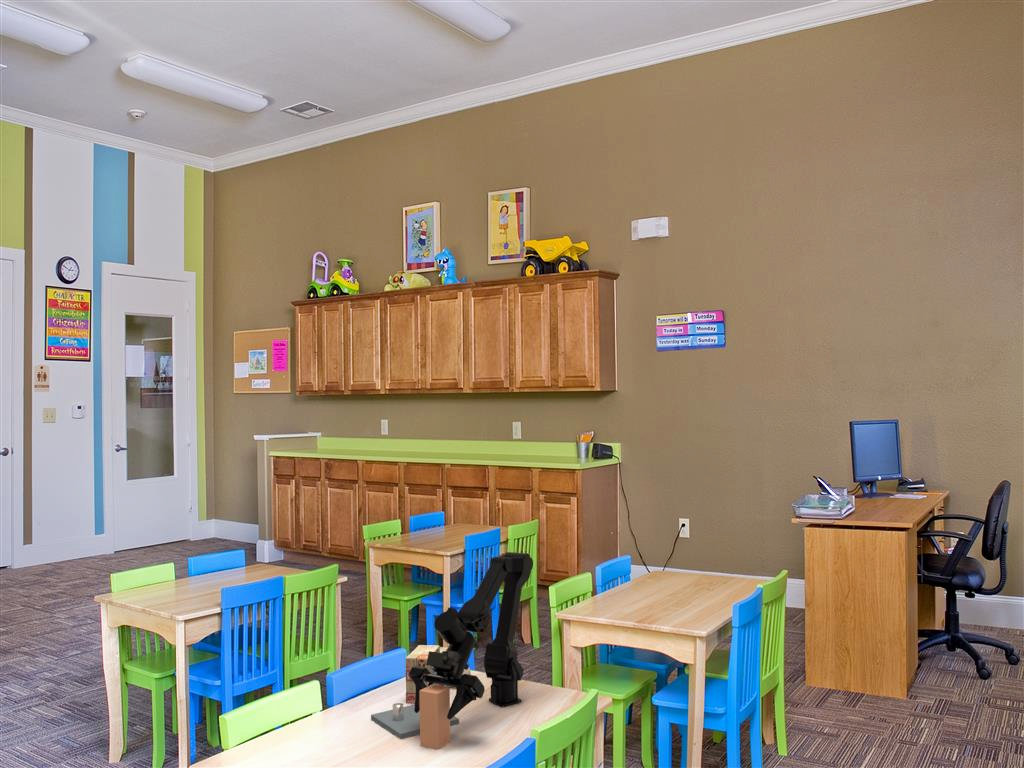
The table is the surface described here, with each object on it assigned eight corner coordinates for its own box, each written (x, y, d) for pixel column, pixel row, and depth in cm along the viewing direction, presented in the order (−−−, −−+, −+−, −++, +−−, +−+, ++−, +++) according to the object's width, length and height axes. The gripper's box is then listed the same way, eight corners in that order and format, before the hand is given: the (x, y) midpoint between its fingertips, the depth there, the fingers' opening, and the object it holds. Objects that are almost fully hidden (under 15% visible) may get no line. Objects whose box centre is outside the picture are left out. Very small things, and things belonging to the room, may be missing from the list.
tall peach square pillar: (432, 738, 195) (431, 684, 196) (450, 742, 193) (449, 687, 193) (420, 745, 191) (419, 690, 191) (438, 749, 188) (437, 693, 189)
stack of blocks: (428, 678, 241) (428, 635, 241) (449, 679, 239) (448, 636, 240) (405, 704, 219) (405, 657, 220) (428, 705, 218) (427, 657, 219)
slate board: (426, 705, 217) (426, 701, 217) (458, 723, 204) (458, 718, 204) (371, 719, 208) (371, 714, 208) (400, 739, 195) (400, 733, 195)
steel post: (400, 721, 207) (400, 702, 207) (405, 724, 204) (405, 705, 205) (391, 723, 205) (390, 704, 205) (396, 726, 203) (395, 707, 203)
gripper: (412, 632, 201) (383, 691, 191) (477, 641, 192) (451, 704, 182) (431, 656, 208) (405, 715, 198) (495, 666, 198) (471, 728, 188)
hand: (431, 715), depth 191 cm, fingers open, 9 cm apart
